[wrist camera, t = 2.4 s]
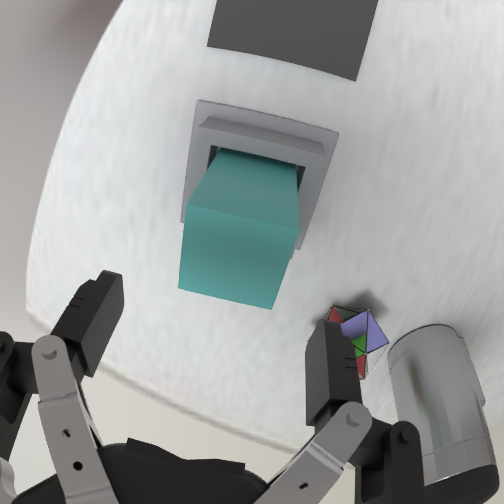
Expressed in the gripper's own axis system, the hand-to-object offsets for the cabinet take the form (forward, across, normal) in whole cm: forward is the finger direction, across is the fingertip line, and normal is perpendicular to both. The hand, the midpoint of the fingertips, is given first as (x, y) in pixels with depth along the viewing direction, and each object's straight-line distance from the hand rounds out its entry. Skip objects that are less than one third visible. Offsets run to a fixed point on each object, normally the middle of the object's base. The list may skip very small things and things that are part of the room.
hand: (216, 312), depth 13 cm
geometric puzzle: (+14, -12, +12) cm, 22 cm away
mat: (+14, 0, -14) cm, 20 cm away
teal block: (+13, 0, 0) cm, 13 cm away
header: (+14, 0, 0) cm, 14 cm away
